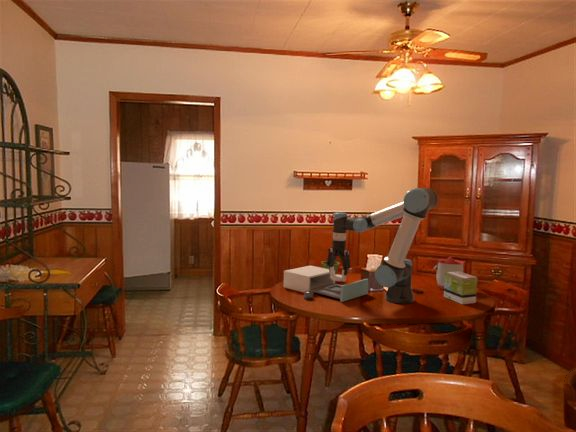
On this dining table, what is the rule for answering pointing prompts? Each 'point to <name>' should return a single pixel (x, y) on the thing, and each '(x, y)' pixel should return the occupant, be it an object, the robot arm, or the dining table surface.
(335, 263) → the plant pot
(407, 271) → the robot arm
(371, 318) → the dining table surface
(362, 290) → the drawer
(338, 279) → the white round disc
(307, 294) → the grey knob
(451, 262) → the citrus juicer
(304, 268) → the white drawer box
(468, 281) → the tea box
